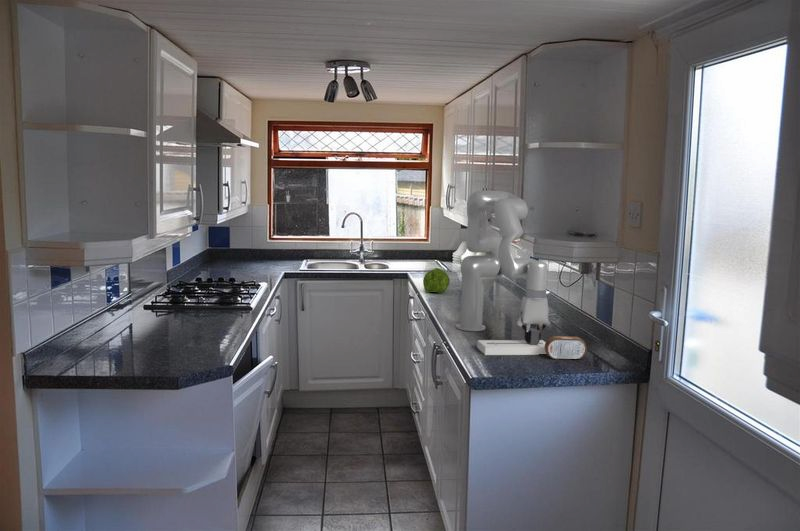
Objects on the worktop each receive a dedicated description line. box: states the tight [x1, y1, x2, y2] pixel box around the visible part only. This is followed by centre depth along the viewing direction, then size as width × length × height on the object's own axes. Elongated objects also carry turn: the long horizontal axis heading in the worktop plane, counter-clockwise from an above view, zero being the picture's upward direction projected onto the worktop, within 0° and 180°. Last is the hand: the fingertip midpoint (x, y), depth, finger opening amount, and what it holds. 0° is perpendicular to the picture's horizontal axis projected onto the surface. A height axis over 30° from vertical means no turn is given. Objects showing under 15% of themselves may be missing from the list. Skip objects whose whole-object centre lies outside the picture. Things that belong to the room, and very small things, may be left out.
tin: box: [545, 335, 588, 360], centre depth 236 cm, size 15×3×8 cm, turn 92°
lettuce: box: [422, 267, 451, 293], centre depth 371 cm, size 14×24×15 cm
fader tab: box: [529, 327, 539, 344], centre depth 245 cm, size 5×3×5 cm, turn 10°
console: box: [476, 339, 547, 356], centre depth 244 cm, size 10×26×3 cm, turn 100°
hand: (532, 341), depth 245 cm, fingers closed on fader tab, 3 cm apart
